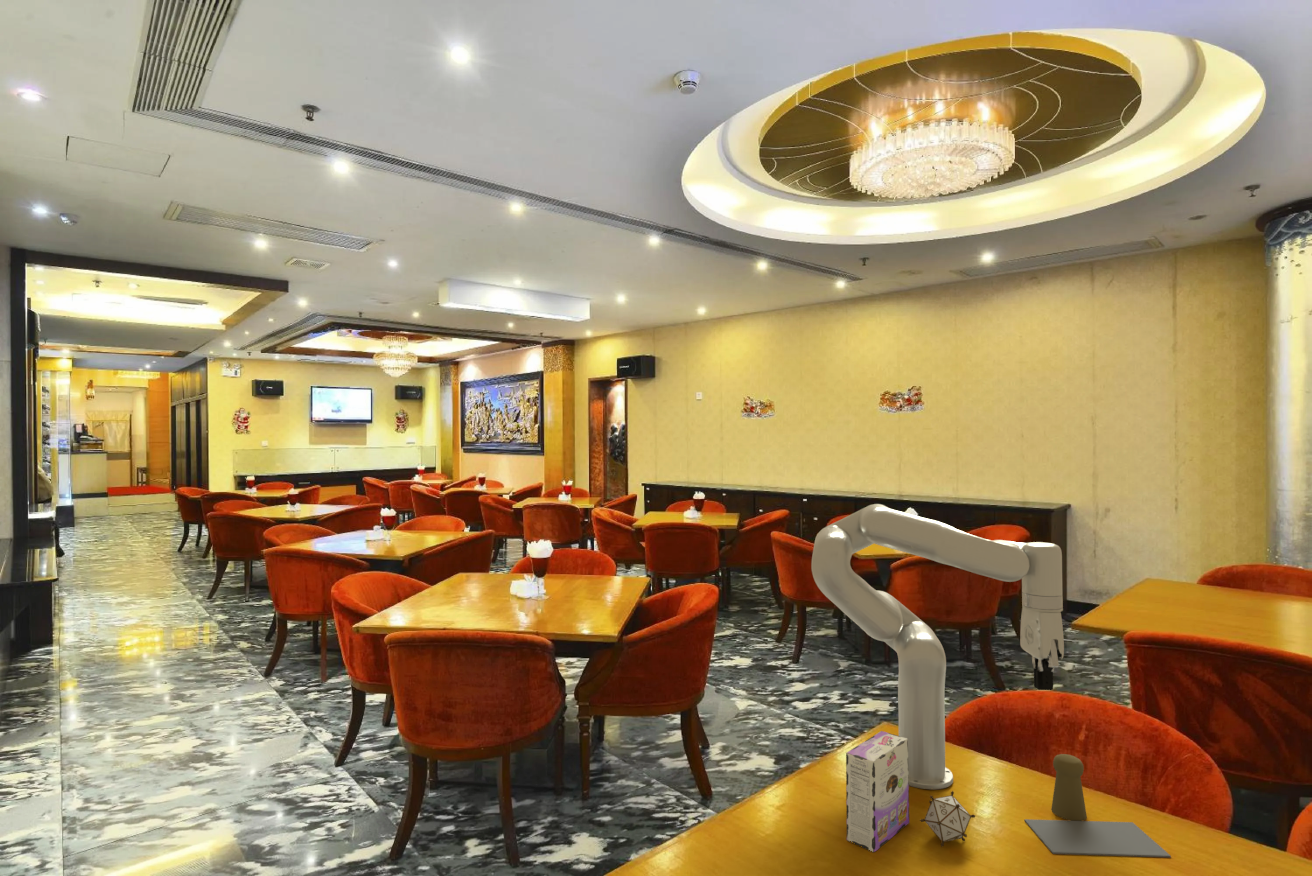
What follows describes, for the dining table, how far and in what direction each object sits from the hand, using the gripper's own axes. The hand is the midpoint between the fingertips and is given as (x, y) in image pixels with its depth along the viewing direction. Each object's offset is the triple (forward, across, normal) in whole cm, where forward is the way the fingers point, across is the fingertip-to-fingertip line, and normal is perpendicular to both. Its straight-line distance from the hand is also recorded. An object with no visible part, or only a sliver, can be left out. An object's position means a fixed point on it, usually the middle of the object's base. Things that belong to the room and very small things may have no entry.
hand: (1043, 688), depth 149 cm
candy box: (+21, +19, -39) cm, 48 cm away
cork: (+21, +10, 0) cm, 23 cm away
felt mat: (+21, +19, 0) cm, 28 cm away
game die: (+21, +21, -27) cm, 40 cm away
